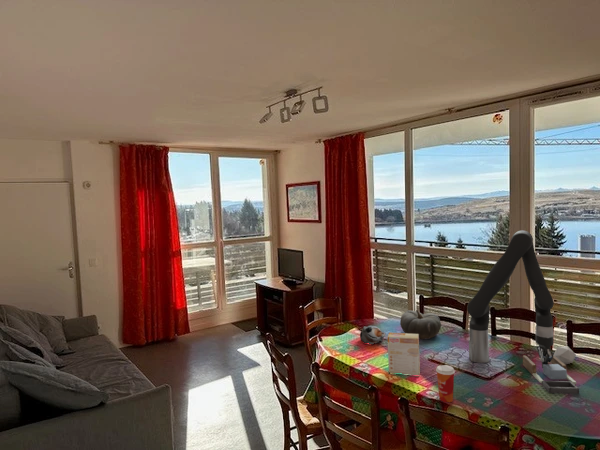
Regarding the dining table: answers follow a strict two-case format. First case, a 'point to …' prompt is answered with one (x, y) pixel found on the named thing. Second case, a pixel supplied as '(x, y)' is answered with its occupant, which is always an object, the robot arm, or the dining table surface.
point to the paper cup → (445, 382)
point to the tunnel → (532, 367)
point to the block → (554, 371)
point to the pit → (560, 387)
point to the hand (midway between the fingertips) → (545, 368)
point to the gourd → (420, 324)
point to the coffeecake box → (403, 353)
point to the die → (564, 354)
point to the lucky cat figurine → (371, 334)
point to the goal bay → (542, 380)
